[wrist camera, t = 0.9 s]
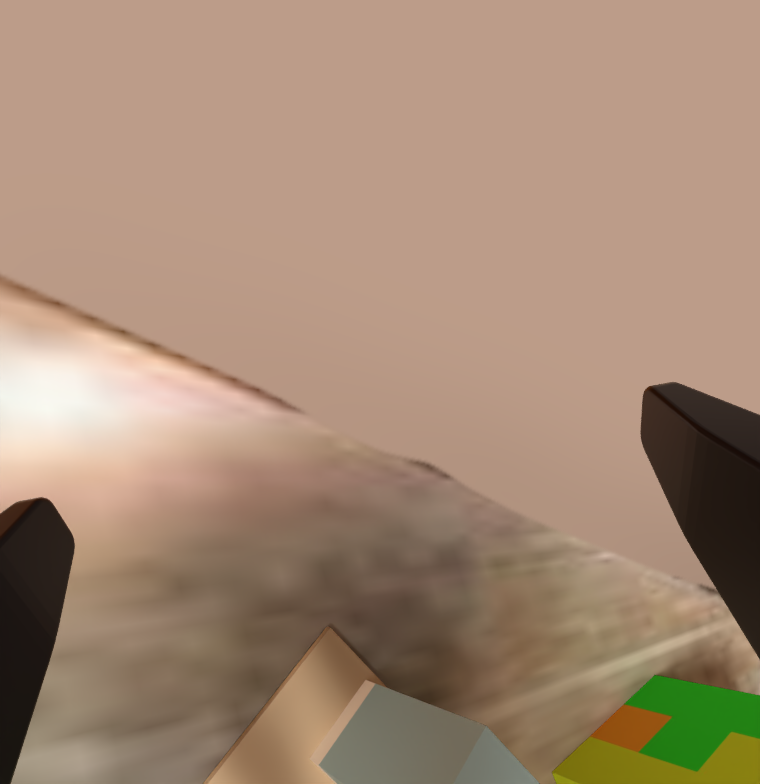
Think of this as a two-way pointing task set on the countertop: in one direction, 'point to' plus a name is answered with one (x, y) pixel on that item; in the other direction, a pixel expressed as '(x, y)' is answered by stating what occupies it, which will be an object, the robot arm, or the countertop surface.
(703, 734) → the puzzle toy
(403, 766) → the pillar
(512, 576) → the countertop surface
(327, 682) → the mat
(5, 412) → the countertop surface
